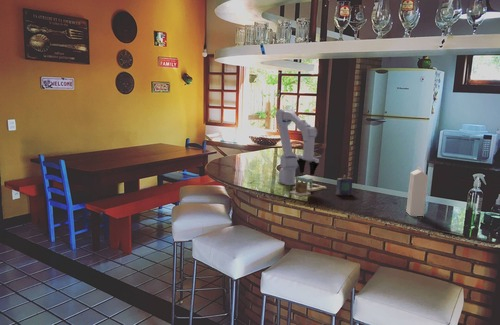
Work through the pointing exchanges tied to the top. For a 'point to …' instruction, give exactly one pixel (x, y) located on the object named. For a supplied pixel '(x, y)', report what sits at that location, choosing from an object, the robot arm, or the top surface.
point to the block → (301, 187)
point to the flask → (344, 186)
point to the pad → (299, 193)
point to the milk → (417, 193)
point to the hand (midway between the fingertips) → (306, 173)
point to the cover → (304, 180)
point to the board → (318, 187)
